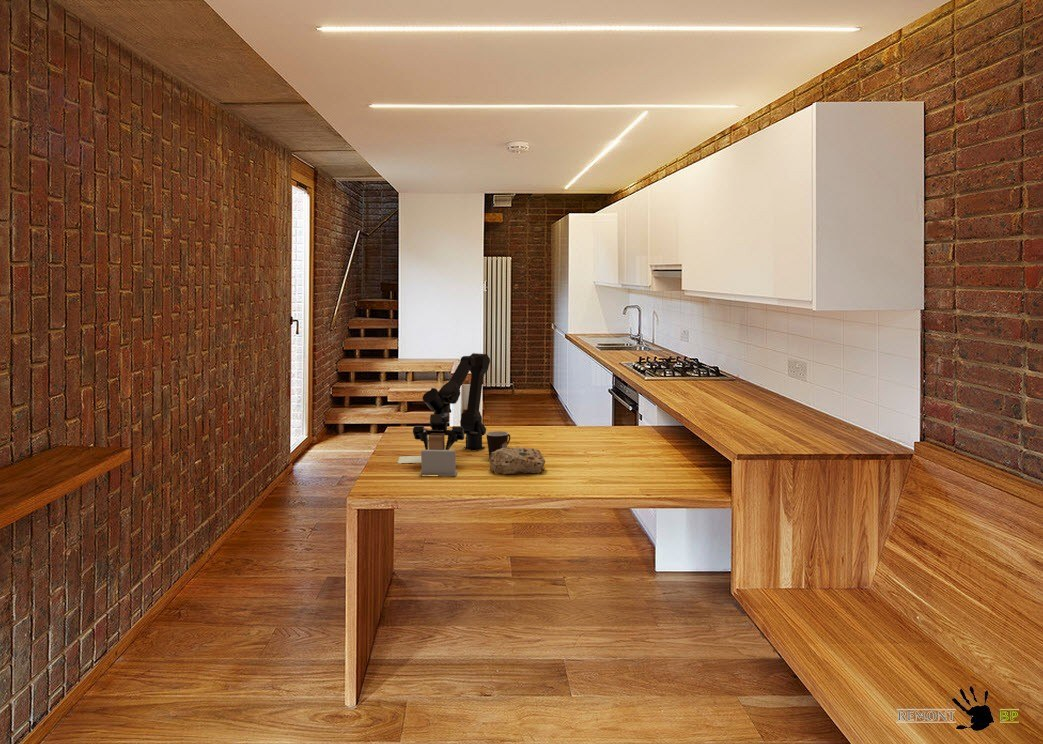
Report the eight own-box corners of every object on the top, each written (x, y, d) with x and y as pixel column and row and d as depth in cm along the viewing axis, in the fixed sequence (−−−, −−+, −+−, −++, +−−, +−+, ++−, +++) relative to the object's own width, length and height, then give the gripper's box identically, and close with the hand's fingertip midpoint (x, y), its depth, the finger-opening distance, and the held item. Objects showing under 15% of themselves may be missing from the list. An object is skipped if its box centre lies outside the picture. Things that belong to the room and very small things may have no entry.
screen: (457, 473, 273) (457, 449, 272) (455, 476, 269) (455, 452, 267) (422, 473, 274) (421, 448, 273) (419, 476, 270) (419, 451, 268)
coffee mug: (492, 462, 288) (492, 436, 287) (482, 457, 296) (482, 432, 294) (519, 458, 293) (519, 433, 292) (509, 453, 301) (509, 429, 300)
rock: (540, 466, 286) (544, 442, 282) (545, 485, 273) (550, 461, 269) (486, 463, 283) (489, 439, 279) (489, 482, 269) (493, 457, 266)
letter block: (431, 467, 282) (431, 433, 280) (445, 467, 282) (444, 433, 280) (429, 470, 277) (428, 436, 275) (442, 471, 276) (441, 436, 275)
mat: (424, 463, 288) (424, 462, 288) (398, 464, 287) (398, 463, 287) (425, 456, 298) (425, 455, 297) (399, 457, 296) (399, 456, 296)
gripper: (413, 404, 281) (407, 440, 271) (462, 405, 279) (458, 441, 270) (417, 421, 290) (412, 456, 280) (466, 421, 288) (462, 457, 279)
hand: (436, 452), depth 277 cm, fingers open, 7 cm apart
